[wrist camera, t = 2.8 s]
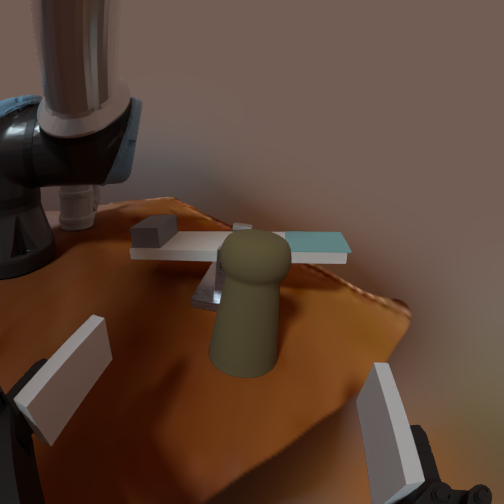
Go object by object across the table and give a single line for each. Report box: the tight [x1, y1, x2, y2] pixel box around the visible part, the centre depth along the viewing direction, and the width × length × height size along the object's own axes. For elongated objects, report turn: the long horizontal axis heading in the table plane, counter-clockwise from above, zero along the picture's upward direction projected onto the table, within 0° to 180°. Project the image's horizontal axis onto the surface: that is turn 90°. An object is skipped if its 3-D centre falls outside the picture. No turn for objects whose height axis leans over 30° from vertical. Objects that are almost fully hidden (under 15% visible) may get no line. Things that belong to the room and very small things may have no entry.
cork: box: [209, 229, 292, 378], centre depth 23 cm, size 6×6×11 cm
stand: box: [191, 223, 253, 312], centre depth 35 cm, size 7×12×7 cm, turn 173°
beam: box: [129, 215, 352, 264], centre depth 34 cm, size 24×7×4 cm, turn 83°
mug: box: [59, 185, 100, 231], centre depth 50 cm, size 8×12×12 cm, turn 173°
